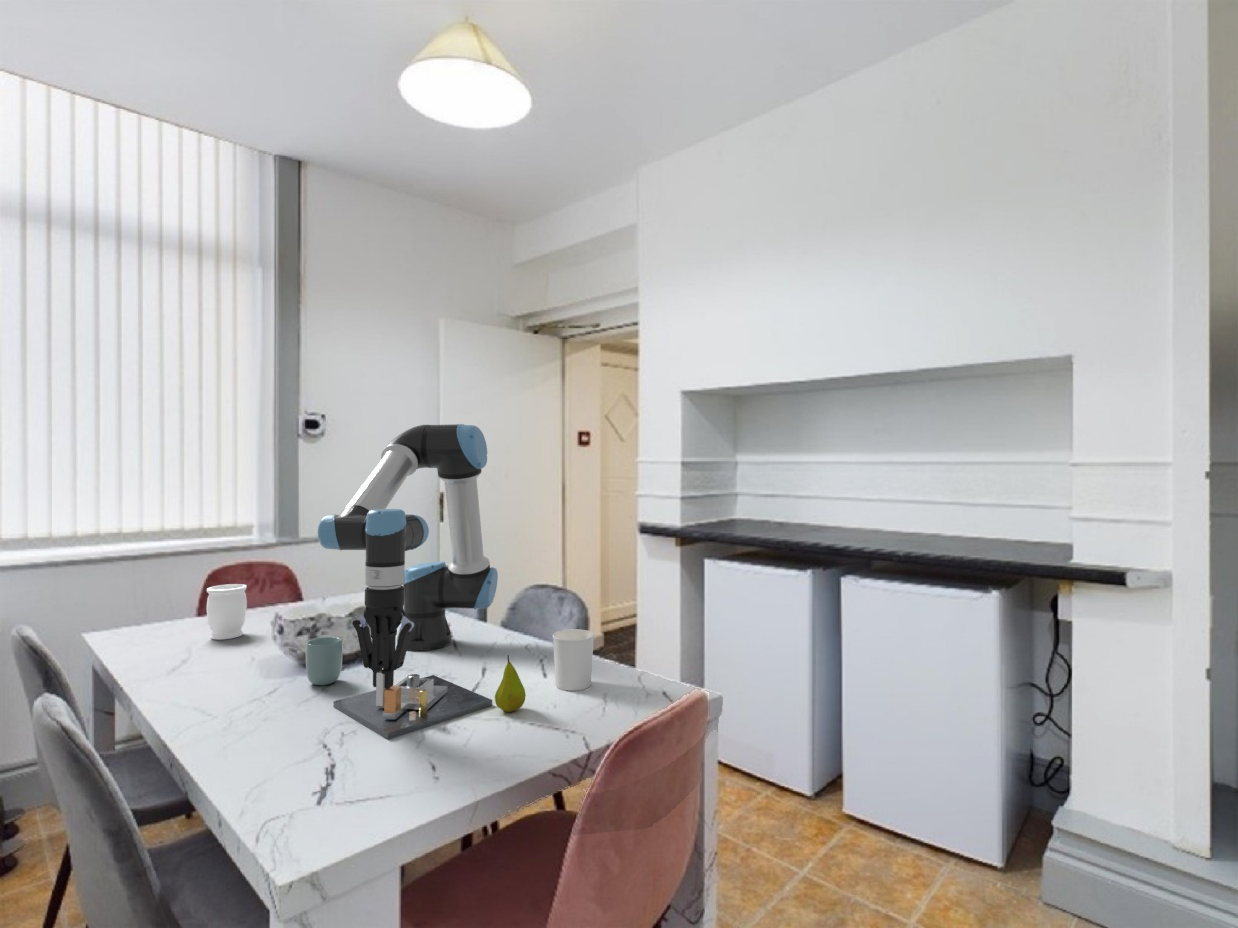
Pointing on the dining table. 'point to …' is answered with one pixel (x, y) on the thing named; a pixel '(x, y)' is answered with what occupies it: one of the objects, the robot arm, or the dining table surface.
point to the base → (444, 709)
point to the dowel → (422, 703)
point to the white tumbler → (573, 659)
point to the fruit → (510, 690)
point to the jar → (226, 610)
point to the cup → (323, 660)
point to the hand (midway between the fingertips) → (382, 703)
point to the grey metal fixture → (409, 697)
